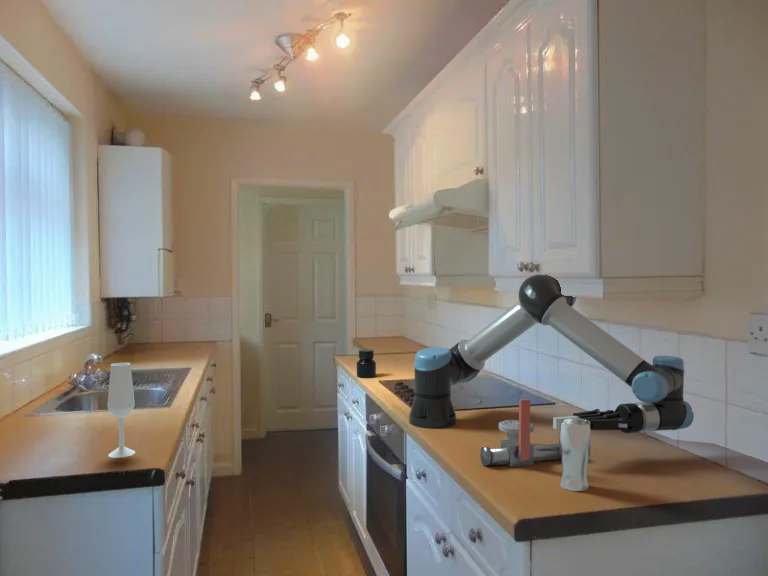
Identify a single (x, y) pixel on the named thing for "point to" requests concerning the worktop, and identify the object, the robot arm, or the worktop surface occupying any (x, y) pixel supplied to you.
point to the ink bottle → (366, 364)
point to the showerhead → (512, 428)
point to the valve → (509, 453)
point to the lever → (524, 430)
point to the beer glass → (574, 452)
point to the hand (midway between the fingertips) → (554, 423)
